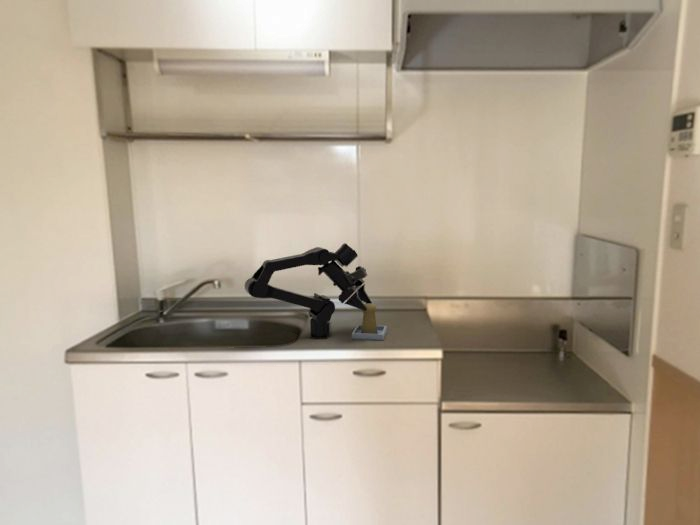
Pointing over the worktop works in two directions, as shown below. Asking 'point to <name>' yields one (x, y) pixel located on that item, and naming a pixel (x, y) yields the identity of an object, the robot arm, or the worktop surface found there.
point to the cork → (369, 319)
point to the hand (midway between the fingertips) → (368, 306)
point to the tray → (365, 336)
